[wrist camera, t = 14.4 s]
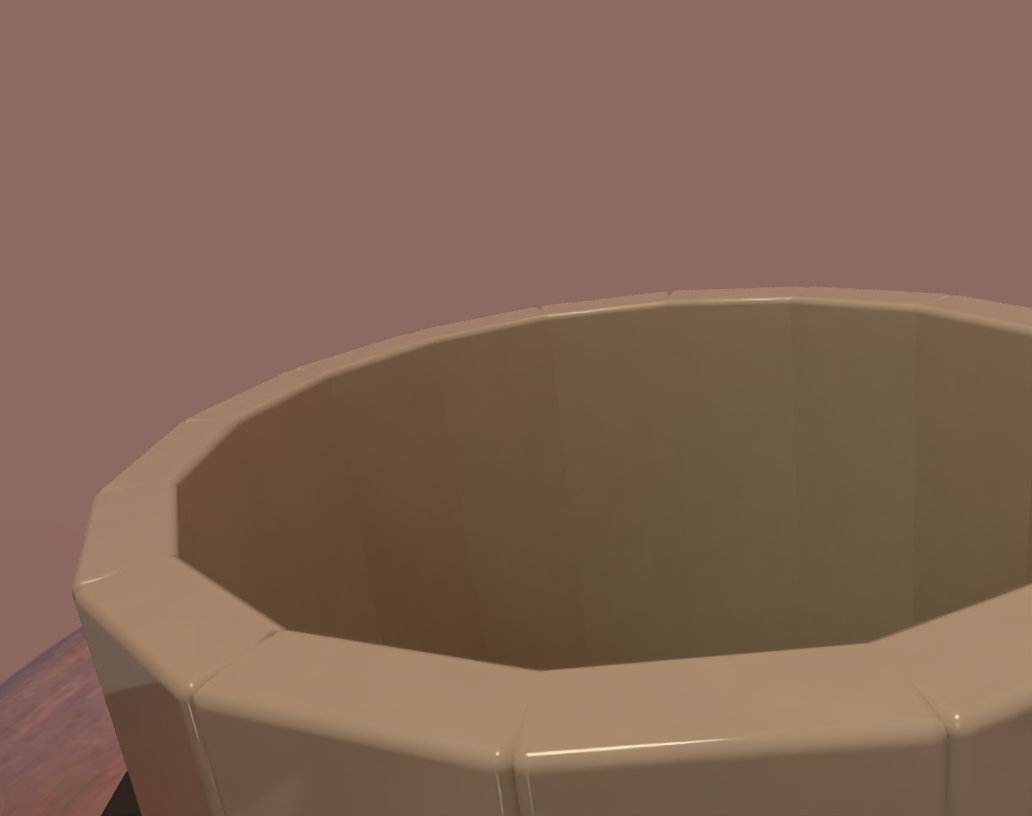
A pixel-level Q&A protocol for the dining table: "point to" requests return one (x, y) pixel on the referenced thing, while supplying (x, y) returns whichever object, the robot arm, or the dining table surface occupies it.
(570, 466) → the cup
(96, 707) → the dining table surface
